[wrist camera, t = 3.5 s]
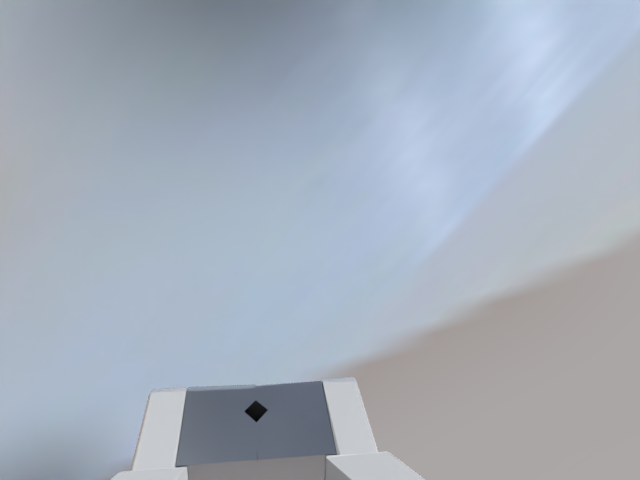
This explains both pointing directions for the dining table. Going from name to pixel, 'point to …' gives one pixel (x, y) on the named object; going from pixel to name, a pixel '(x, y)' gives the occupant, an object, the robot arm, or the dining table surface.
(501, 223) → the dining table surface
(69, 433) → the dining table surface
